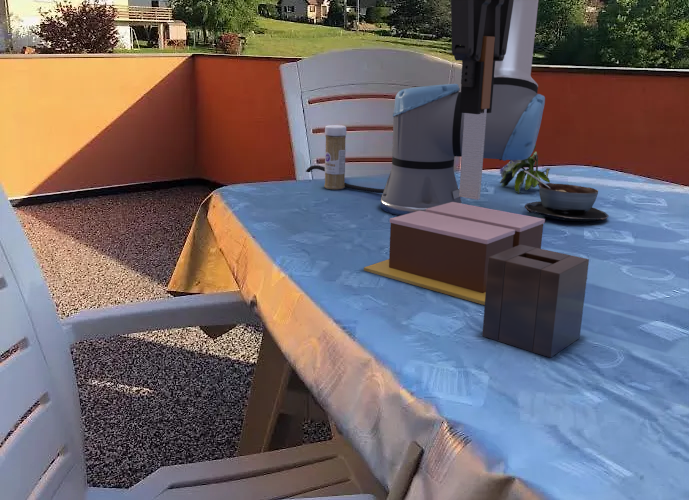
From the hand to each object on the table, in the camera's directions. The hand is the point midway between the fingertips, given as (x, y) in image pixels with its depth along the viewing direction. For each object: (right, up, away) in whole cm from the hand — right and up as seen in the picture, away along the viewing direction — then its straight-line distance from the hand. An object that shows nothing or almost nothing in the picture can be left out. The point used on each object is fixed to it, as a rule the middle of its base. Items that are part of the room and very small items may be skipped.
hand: (475, 112), depth 93 cm
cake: (0, -21, +6) cm, 22 cm away
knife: (0, -11, +3) cm, 11 cm away
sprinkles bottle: (-19, -5, +61) cm, 64 cm away
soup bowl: (+24, -12, +40) cm, 48 cm away
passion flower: (+22, -5, +64) cm, 68 cm away
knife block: (+3, -28, -16) cm, 32 cm away
